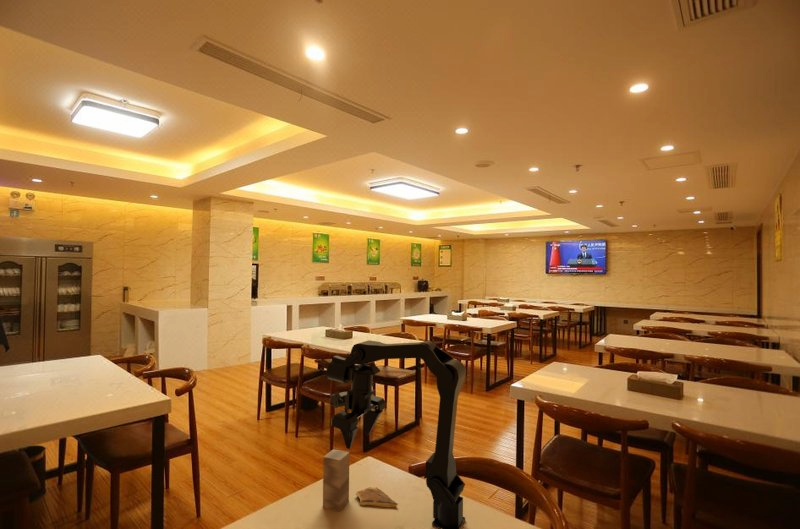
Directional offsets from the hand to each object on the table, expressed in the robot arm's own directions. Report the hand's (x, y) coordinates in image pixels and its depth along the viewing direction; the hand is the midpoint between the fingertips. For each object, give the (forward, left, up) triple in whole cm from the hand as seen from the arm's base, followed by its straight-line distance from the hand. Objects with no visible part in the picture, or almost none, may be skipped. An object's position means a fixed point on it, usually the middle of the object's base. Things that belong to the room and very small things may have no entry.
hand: (358, 441), depth 109 cm
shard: (-6, -1, -15) cm, 16 cm away
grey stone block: (+2, +7, -15) cm, 16 cm away
